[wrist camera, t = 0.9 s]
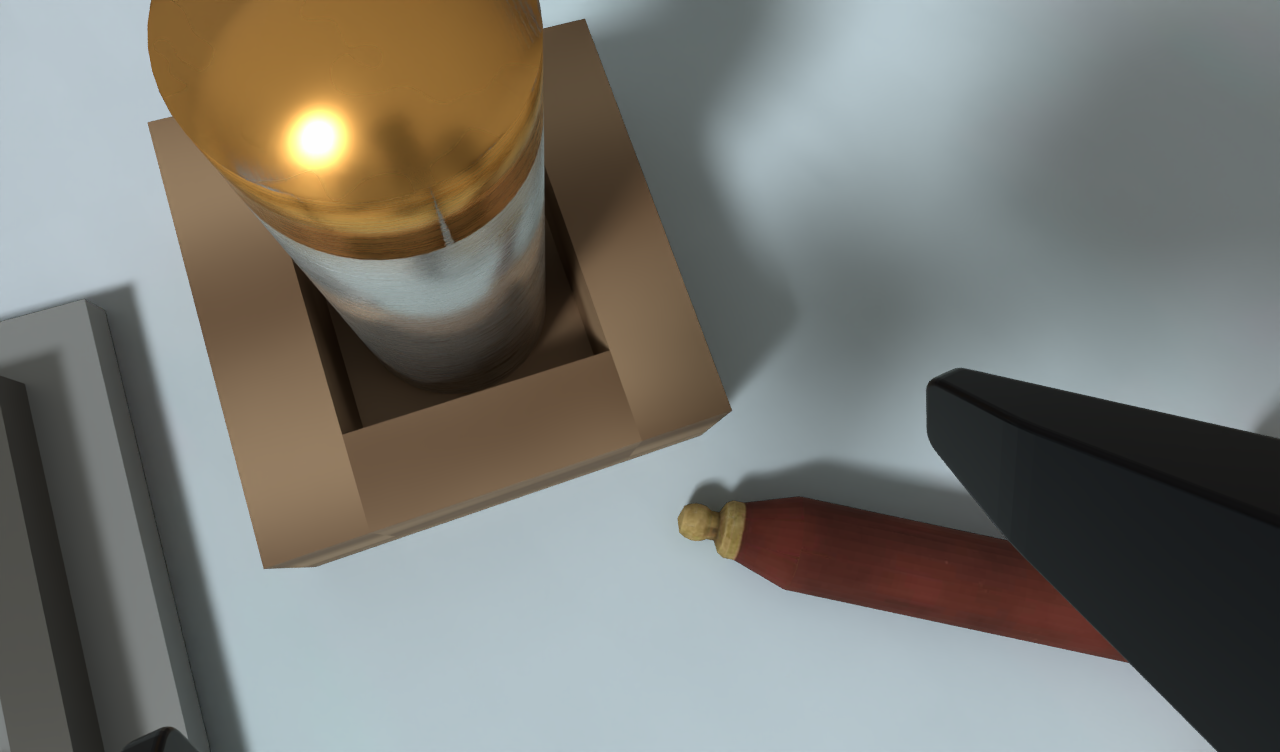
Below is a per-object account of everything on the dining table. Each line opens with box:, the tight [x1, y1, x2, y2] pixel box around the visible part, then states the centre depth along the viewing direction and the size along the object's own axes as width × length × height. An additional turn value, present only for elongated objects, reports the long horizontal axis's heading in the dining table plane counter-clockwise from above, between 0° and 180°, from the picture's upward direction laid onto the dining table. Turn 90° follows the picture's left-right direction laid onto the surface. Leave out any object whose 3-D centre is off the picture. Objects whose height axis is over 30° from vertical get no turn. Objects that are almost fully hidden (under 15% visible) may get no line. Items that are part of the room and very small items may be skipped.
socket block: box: [148, 19, 732, 569], centre depth 21 cm, size 11×11×4 cm
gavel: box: [678, 497, 1129, 663], centre depth 22 cm, size 21×5×10 cm
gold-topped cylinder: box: [148, 0, 546, 394], centre depth 16 cm, size 5×5×12 cm
